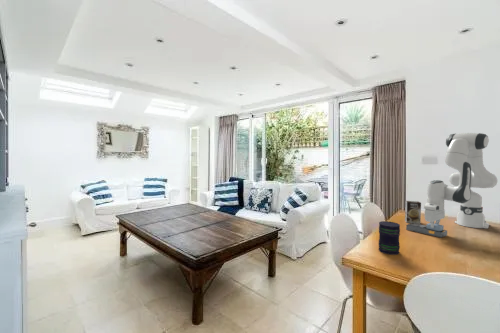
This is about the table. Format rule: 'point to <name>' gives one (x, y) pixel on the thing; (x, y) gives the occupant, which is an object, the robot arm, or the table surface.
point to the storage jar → (389, 237)
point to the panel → (437, 227)
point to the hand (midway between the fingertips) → (434, 226)
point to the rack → (425, 230)
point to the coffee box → (413, 212)
